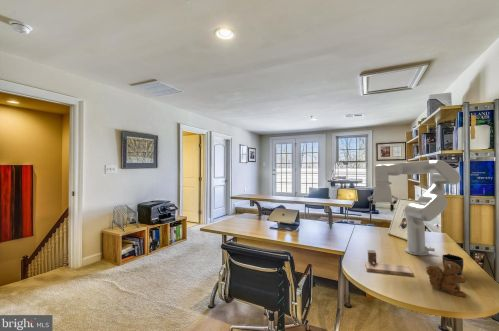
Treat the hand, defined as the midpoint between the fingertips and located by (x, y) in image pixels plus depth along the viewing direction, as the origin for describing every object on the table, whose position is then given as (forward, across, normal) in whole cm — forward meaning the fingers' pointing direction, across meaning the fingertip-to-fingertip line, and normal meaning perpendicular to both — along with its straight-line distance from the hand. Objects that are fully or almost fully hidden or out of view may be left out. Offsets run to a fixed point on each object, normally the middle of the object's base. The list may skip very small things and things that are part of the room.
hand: (382, 210), depth 153 cm
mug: (+28, -28, +20) cm, 45 cm away
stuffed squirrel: (+29, -19, +38) cm, 52 cm away
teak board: (+28, +2, +23) cm, 37 cm away
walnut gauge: (+28, +9, +18) cm, 35 cm away
